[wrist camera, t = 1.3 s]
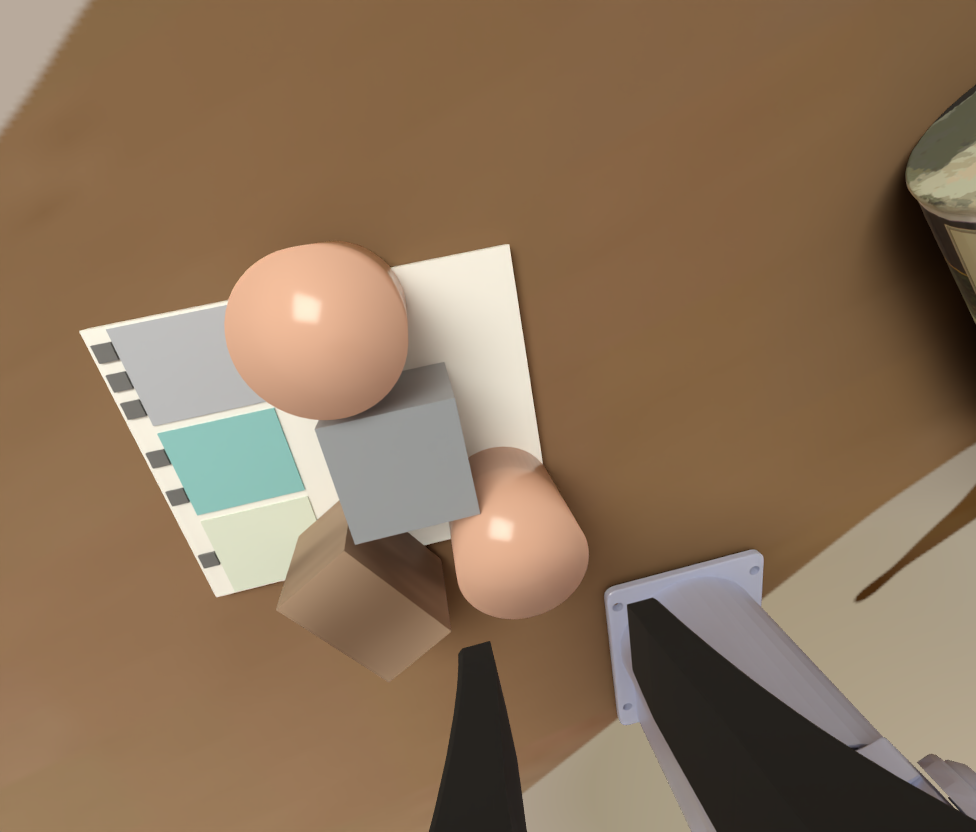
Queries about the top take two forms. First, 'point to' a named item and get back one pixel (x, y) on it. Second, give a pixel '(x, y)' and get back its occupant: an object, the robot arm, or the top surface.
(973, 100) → the coffee can
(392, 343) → the peach glossy domed part
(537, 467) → the peach rounded cylinder
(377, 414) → the matte grey cube
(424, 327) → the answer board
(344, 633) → the walnut block
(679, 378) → the top surface
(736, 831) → the robot arm
